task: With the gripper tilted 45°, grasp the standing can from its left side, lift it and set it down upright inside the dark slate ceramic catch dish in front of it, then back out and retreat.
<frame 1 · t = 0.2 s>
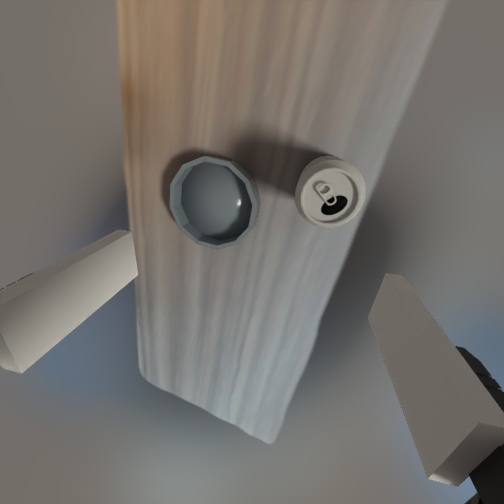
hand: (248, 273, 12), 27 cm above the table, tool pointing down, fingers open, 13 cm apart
catch dish: (218, 202, 40), on the table
can: (324, 182, 36), on the table
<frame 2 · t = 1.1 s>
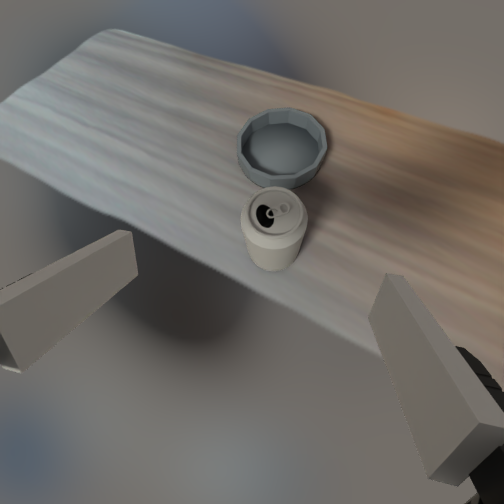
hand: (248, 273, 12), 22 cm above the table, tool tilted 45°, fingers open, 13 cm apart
catch dish: (280, 155, 42), on the table
can: (273, 249, 36), on the table
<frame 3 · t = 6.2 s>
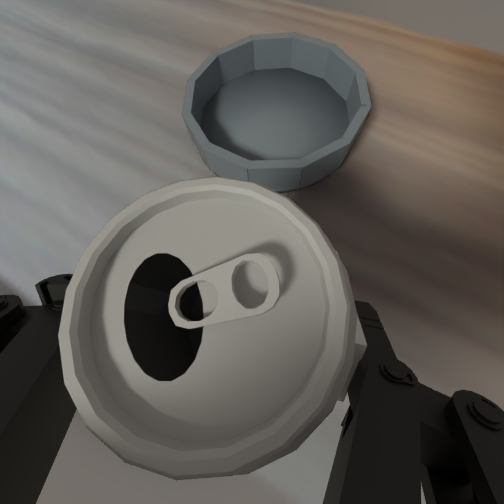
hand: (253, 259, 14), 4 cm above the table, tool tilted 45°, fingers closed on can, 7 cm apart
catch dish: (273, 125, 22), on the table
can: (247, 323, 16), on the table, touching gripper
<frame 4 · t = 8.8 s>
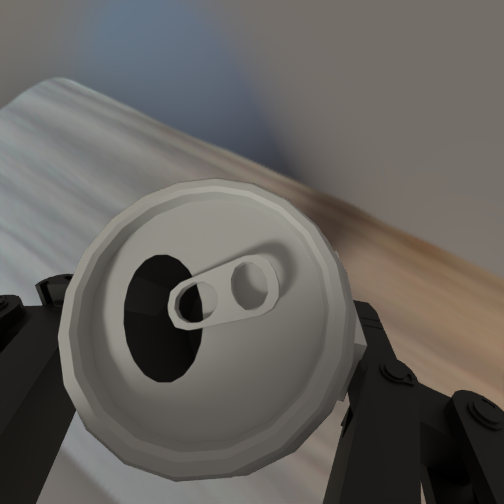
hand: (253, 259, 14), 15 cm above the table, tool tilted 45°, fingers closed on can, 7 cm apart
can: (247, 323, 16), point 12 cm above the table, touching gripper
when the fingers open (5 cm above the table, at t = 11.3 s): can drops 1 cm, resting on catch dish.
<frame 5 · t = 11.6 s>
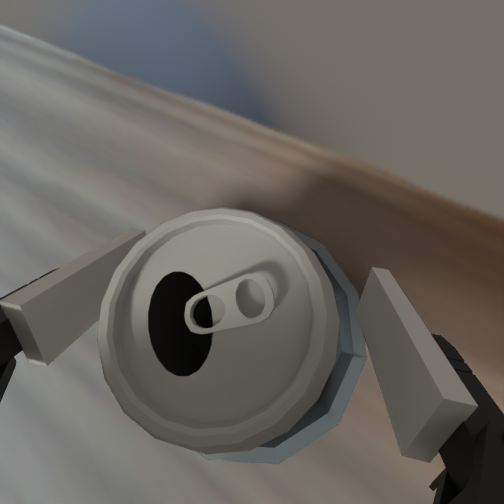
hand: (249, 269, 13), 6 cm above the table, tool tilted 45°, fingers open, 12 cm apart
catch dish: (249, 324, 18), on the table
can: (247, 325, 18), resting on catch dish
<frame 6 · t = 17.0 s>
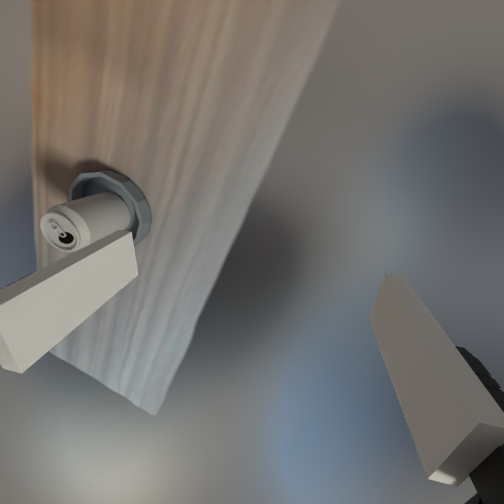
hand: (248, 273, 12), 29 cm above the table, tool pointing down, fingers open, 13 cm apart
catch dish: (116, 209, 46), on the table
can: (115, 210, 45), resting on catch dish
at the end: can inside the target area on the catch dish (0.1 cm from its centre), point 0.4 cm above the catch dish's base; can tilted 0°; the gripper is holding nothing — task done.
